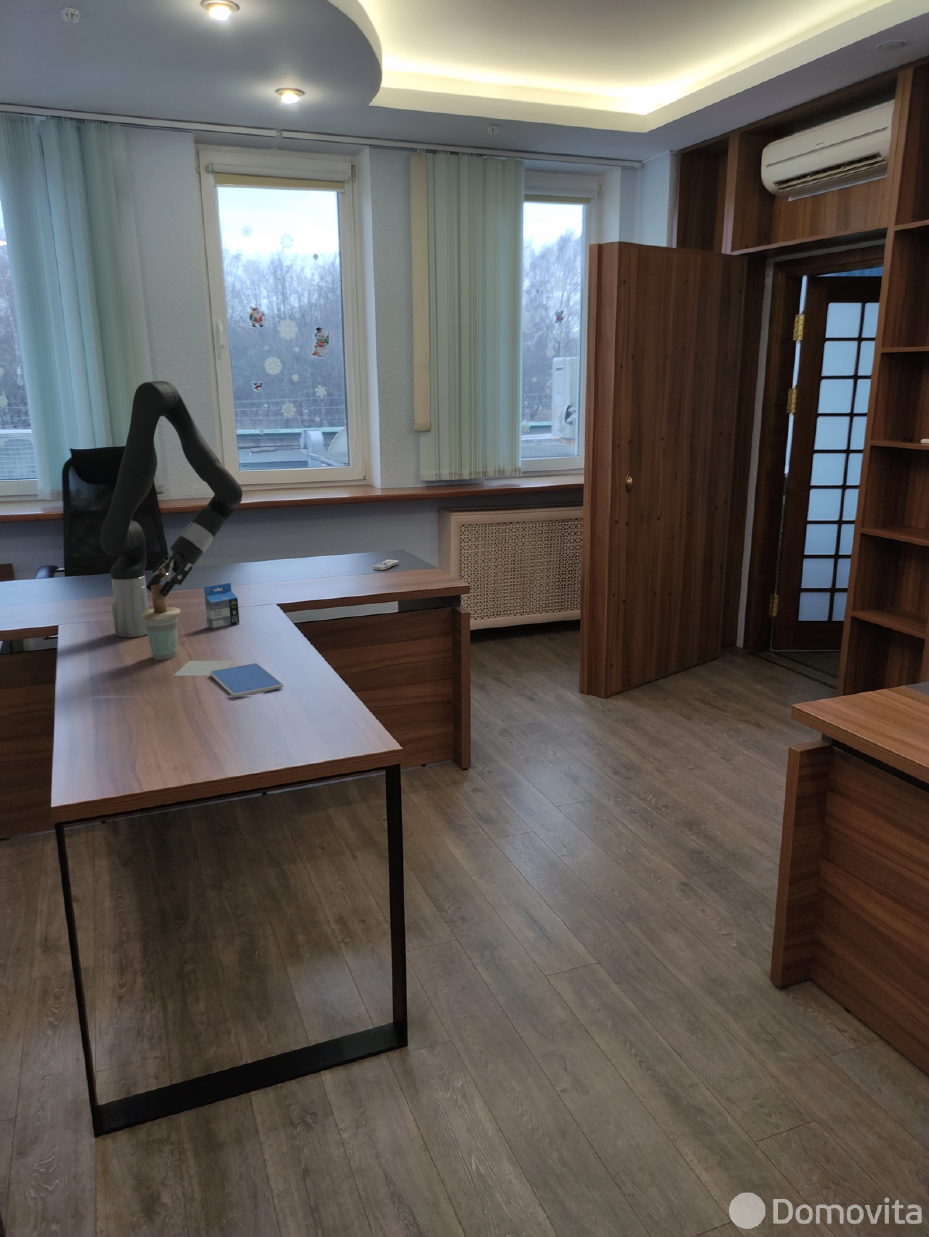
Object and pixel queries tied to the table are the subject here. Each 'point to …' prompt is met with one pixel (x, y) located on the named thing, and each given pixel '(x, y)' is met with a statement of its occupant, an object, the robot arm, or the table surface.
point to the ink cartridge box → (221, 606)
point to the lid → (159, 607)
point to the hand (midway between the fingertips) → (155, 592)
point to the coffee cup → (163, 637)
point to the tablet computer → (246, 680)
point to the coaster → (202, 668)
